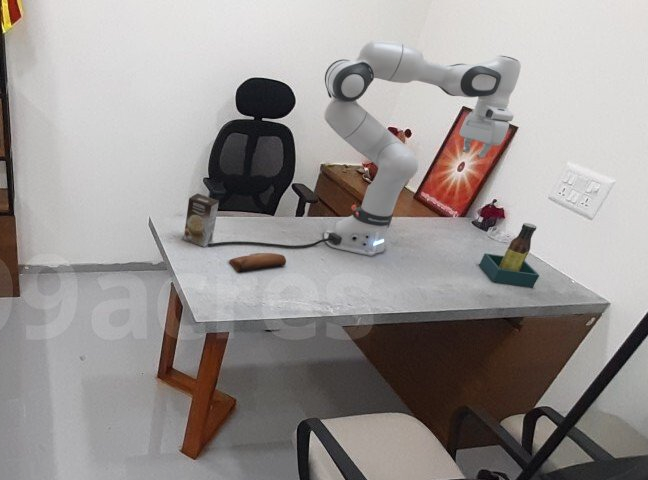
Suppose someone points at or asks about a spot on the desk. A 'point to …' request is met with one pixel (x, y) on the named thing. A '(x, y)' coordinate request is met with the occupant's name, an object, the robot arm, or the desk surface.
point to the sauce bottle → (518, 249)
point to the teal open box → (508, 272)
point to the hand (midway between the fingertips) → (472, 154)
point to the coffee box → (200, 219)
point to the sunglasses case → (257, 261)
